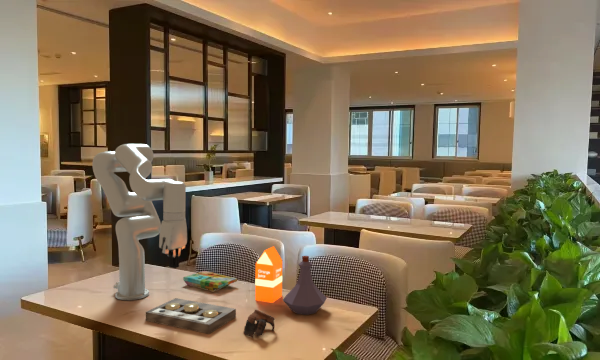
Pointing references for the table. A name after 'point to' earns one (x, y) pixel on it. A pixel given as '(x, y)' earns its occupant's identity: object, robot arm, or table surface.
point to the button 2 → (210, 313)
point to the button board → (191, 316)
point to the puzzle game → (209, 280)
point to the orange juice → (268, 276)
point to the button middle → (191, 308)
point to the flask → (305, 292)
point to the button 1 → (172, 306)
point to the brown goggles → (258, 323)
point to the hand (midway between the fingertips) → (173, 267)
